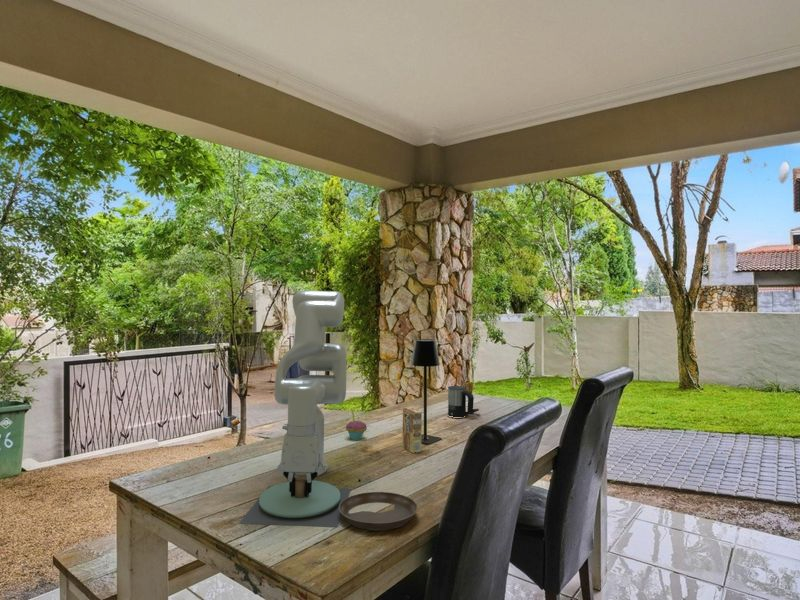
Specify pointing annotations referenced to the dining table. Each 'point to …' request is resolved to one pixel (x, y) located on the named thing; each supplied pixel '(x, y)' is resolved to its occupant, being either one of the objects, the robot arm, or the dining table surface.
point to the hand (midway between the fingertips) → (300, 494)
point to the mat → (321, 520)
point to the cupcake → (356, 429)
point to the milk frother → (459, 401)
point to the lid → (299, 499)
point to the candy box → (412, 429)
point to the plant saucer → (378, 521)
